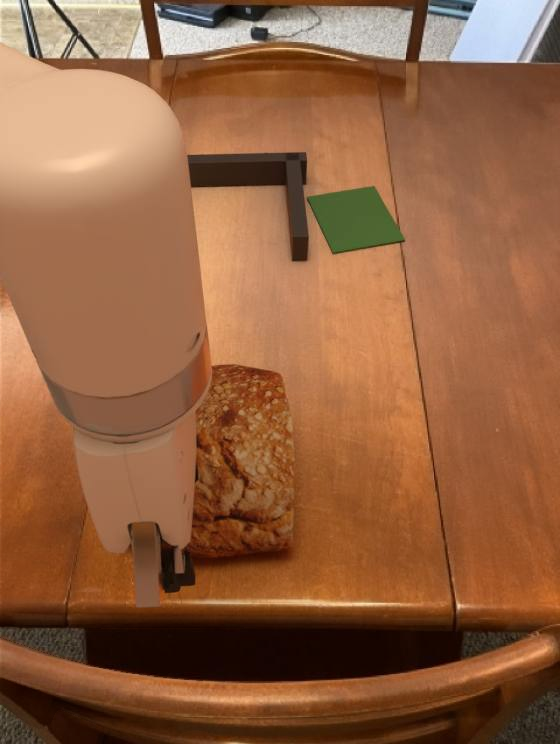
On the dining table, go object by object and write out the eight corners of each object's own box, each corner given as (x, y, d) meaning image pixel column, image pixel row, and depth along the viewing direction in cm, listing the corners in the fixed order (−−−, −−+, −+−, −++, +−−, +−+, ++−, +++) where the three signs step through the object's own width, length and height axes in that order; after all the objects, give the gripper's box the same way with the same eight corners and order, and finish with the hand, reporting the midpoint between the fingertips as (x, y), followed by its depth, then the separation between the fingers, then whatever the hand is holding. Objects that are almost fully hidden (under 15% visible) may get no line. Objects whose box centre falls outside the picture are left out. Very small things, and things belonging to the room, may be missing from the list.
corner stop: (111, 266, 86) (105, 242, 83) (124, 180, 98) (119, 156, 94) (315, 260, 87) (316, 236, 84) (305, 176, 98) (306, 151, 95)
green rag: (332, 254, 88) (332, 252, 88) (306, 198, 95) (306, 196, 95) (404, 241, 90) (405, 239, 89) (374, 187, 97) (374, 185, 97)
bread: (294, 564, 62) (297, 513, 54) (94, 566, 62) (68, 516, 54) (289, 385, 75) (290, 324, 67) (122, 387, 74) (105, 325, 67)
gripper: (71, 234, 36) (128, 422, 50) (7, 536, 26) (101, 668, 40) (212, 231, 37) (229, 418, 51) (206, 528, 26) (230, 662, 40)
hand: (173, 527), depth 45 cm, fingers open, 6 cm apart
